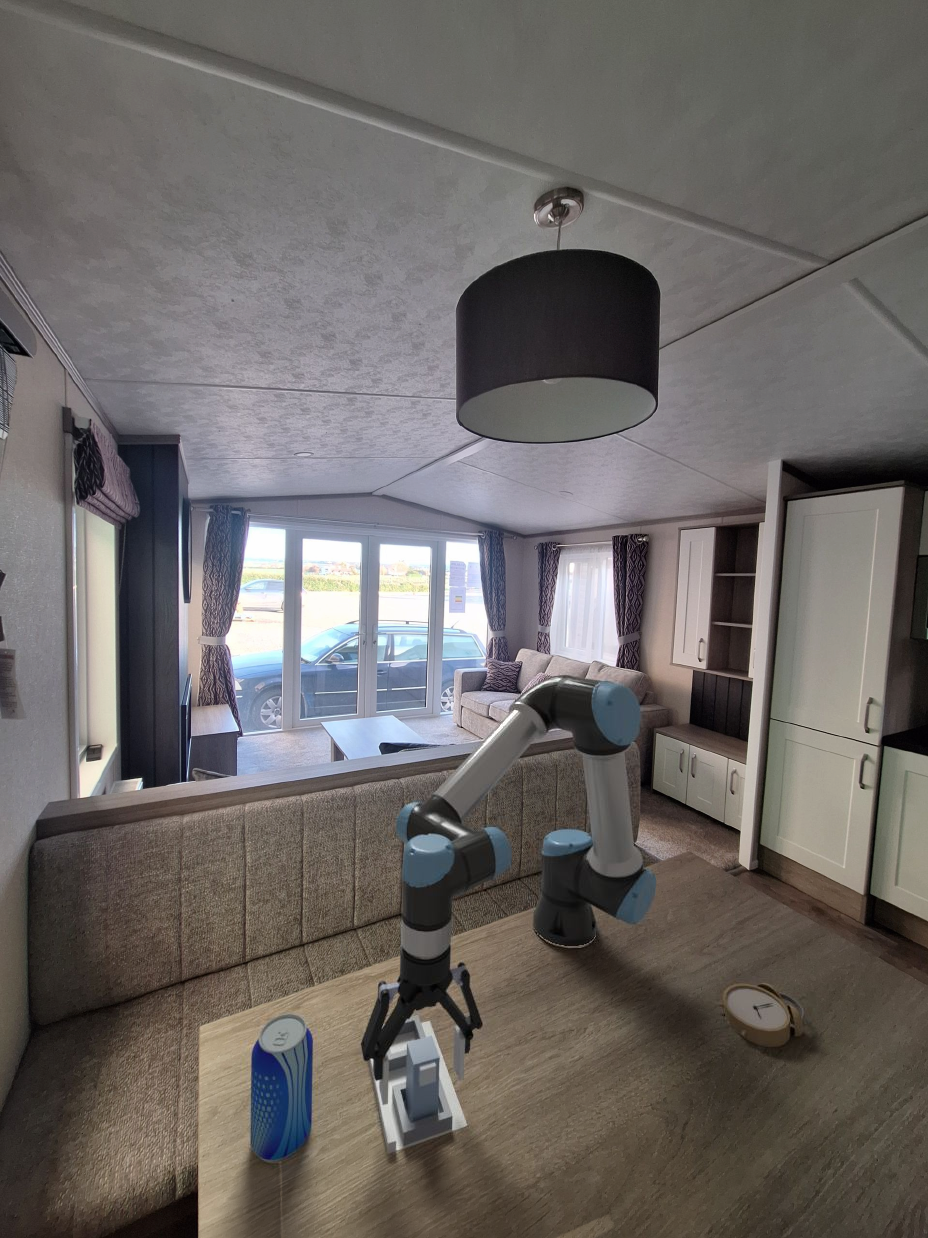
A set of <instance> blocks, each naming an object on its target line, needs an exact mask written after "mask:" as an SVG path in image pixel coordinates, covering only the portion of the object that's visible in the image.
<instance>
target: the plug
mask: <svg viewBox="0 0 928 1238" xmlns="http://www.w3.org/2000/svg"><path fill="white" fill-rule="evenodd" d="M439 1061H440V1057H439V1054H438V1051H437V1048H436V1046H435V1043H434V1040H433V1037H432V1036H428V1037H425V1038H421V1039H418V1040H414V1041H410V1042H407V1060H406V1101H405V1105H406V1109H407V1113H408V1117H409V1121H410V1123H412V1122H415V1121H418V1120H421V1119H424V1118H427V1117H430V1116H433V1115H436V1114H438V1097H439Z"/></svg>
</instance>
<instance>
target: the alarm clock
mask: <svg viewBox="0 0 928 1238" xmlns="http://www.w3.org/2000/svg"><path fill="white" fill-rule="evenodd" d="M783 1000H786V1001H788V1002H790V1003H791V1004H792V1005H794V1006H795V1007H794V1006H792V1005H791V1004H787V1006H786V1005H785V1003H784V1002H783ZM716 1006H717V1007H719V1008H723V1009H722V1011H723V1010H724V1013H723V1015H724V1014H725V1017H726V1019H727V1021H728V1022H729V1024H730V1025H731V1026H732V1027H733V1028H734V1029H735V1030H736V1031H737V1032H738V1033H739V1034H738V1033H737V1032H736V1031H735V1030H734V1029H733V1028H732V1027H731V1026H730V1025H729V1024H728V1025H729V1026H730V1027H731V1028H732V1029H733V1030H734V1031H735V1032H736V1033H737V1034H738V1035H739V1036H741V1035H742V1036H743V1038H744V1039H745V1038H746V1039H745V1040H747V1041H750V1042H751V1043H753V1044H756V1045H758V1046H762V1047H767V1048H774V1047H781V1046H783V1045H785V1044H786V1043H787V1042H788V1041H789V1039H790V1037H791V1028H790V1023H791V1024H793V1025H795V1030H794V1035H793V1037H795V1036H796V1037H800V1036H802V1034H803V1032H804V1027H805V1026H806V1027H807V1022H806V1021H804V1019H805V1014H804V1013H805V1010H804V1008H803V1006H802V1005H801V1004H800V1003H799V1001H797V1000H796V999H795V998H793V997H792V996H790V995H788V994H786V993H783V992H780V991H778V990H777V989H776V987H774V986H773V985H772V984H770V983H767V982H761V983H759V984H757V985H755V984H748V983H734V984H732V985H729V986H727V988H725V990H724V991H723V995H722V1002H716ZM799 1011H800V1012H799ZM725 1017H724V1018H725ZM726 1019H725V1020H726ZM727 1021H726V1022H727ZM728 1022H727V1023H728ZM742 1036H741V1037H742Z"/></svg>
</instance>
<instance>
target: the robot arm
mask: <svg viewBox="0 0 928 1238" xmlns="http://www.w3.org/2000/svg"><path fill="white" fill-rule="evenodd" d="M641 723H642V712H641V706H640V703H639V700H638V698H637V696H636V694H635V693H634V692H633V690H631V689H630V687H629V688H628V686H626V685H624V684H622V683H621V684H620V683H615V682H613V681H609V680H600V679H599V680H598V679H591V678H584V677H577V676H573V675H569V674H557V675H553V676H551V677H547V678H545V679H543V680H540V681H539V682H537V683H536V684H534V685H532V686H531V687H529V688H528V689H526V691H524V692H523V693H521V694H520V695H519V696H518V697H517V698H516V699H515V700H513V702H512V703H511V705H509V707H508V714H507V715H506V716H505V717H504V718H503V719H502V721H501V722H499V724H498V725H496V727H495V728H494V729H493V730H492V731H491V732H490V733H489V734H488V735H487V736H486V738H484V740H482V742H481V743H479V745H478V746H477V747H476V748H475V749H474V750H473V751H472V752H471V753H470V754H469V755H468V757H466V759H465V760H464V761H463V762H462V763H461V764H460V765H459V766H458V767H456V768H455V770H454V771H453V772H452V773H451V775H449V777H448V778H447V779H445V781H444V782H443V783H442V784H441V785H440V786H439V787H438V788H437V789H436V790H435V791H434V793H433V794H432V795H431V796H429V798H427V800H426V801H425V802H424V803H423V802H419V801H413V802H410V803H409V804H405V805H404V806H403V807H402V808H401V810H400V811H399V813H398V815H397V817H396V821H395V832H396V835H397V837H398V838H399V840H400V841H401V842H403V843H404V844H405V846H404V850H403V854H402V855H403V856H402V867H401V872H400V873H401V923H400V924H401V927H400V928H401V929H400V954H399V955H400V956H399V957H400V959H399V976H398V979H397V980H396V982H392V983H388V984H387V982H386V981H385V980H381V981H379V982H378V985H377V998H376V1001H375V1003H374V1006H373V1009H372V1012H371V1014H370V1017H369V1020H368V1023H367V1025H366V1029H365V1030H366V1031H365V1030H364V1034H363V1037H362V1039H361V1043H360V1046H361V1054H362V1059H363V1061H364V1062H369V1060H370V1059H373V1072H374V1077H375V1080H376V1081H377V1080H379V1089H380V1094H381V1099H382V1104H383V1105H385V1104H388V1081H389V1059H388V1054H387V1052H388V1050H389V1049H390V1047H391V1045H392V1044H393V1042H394V1040H395V1039H396V1037H397V1035H398V1033H399V1032H400V1030H401V1028H402V1027H403V1025H404V1023H405V1022H406V1020H407V1019H410V1017H411V1016H413V1014H414V1012H416V1011H421V1010H423V1009H424V1008H433V1007H437V1004H440V1006H441V1007H442V1008H443V1009H444V1010H445V1011H446V1012H447V1013H448V1015H449V1016H450V1017H451V1019H452V1020H453V1022H454V1023H455V1024H456V1025H454V1033H453V1035H454V1039H453V1040H454V1042H453V1068H454V1071H455V1074H456V1075H457V1079H458V1081H459V1082H461V1081H464V1080H465V1060H466V1059H465V1058H466V1057H465V1055H467V1054H469V1053H470V1052H471V1041H472V1039H474V1037H475V1036H474V1033H473V1031H474V1030H475V1029H476V1030H481V1028H483V1025H484V1024H483V1021H482V1018H481V1015H480V1012H479V1009H478V1006H477V1004H476V1000H475V997H474V994H473V992H472V991H473V990H472V989H471V987H470V986H471V975H470V972H469V970H468V968H467V966H466V964H465V962H463V961H461V962H459V963H458V964H457V967H455V968H451V953H452V952H451V950H452V949H451V948H452V947H451V946H452V945H451V942H452V916H453V913H452V912H453V900H454V899H455V898H456V897H458V896H460V895H462V894H464V893H466V892H467V891H470V890H472V889H474V888H476V887H479V886H480V885H482V884H485V883H487V882H489V881H493V880H494V879H496V877H498V876H500V875H501V874H503V873H505V872H506V871H507V870H508V869H509V868H510V865H511V862H512V846H511V844H510V841H509V840H508V837H507V836H506V834H505V833H504V832H503V831H502V830H500V829H499V828H497V827H495V826H489V827H488V826H486V827H481V828H480V829H478V830H474V829H472V828H471V827H468V826H466V825H465V824H463V822H465V820H466V819H467V818H468V816H469V815H471V813H472V812H473V811H474V810H475V809H476V807H477V806H478V805H480V803H481V802H482V801H483V800H484V798H485V797H486V796H487V795H488V794H489V793H490V792H491V790H492V789H493V788H494V787H495V786H496V785H497V783H498V782H499V781H500V780H501V779H502V778H503V776H504V775H506V773H507V772H508V771H509V770H510V768H511V767H512V766H513V765H514V764H515V763H516V762H517V761H518V760H519V758H520V757H521V756H522V755H523V753H524V752H525V751H526V750H527V749H528V748H529V746H531V745H532V743H533V742H534V741H535V740H536V739H538V740H539V739H543V738H544V737H545V736H546V735H547V733H548V732H549V731H552V730H557V729H559V730H563V731H566V732H570V733H571V735H572V742H573V748H574V749H575V750H576V751H577V752H578V753H579V754H581V755H582V764H583V772H584V773H583V774H584V779H585V781H584V782H585V789H586V797H587V806H588V807H587V808H588V813H589V821H590V830H591V835H590V833H588V832H585V831H583V830H579V829H573V828H572V829H570V828H566V829H559V830H555V831H551V832H550V833H547V835H546V836H545V837H544V839H543V844H542V851H541V858H542V860H541V890H540V895H539V898H538V901H537V903H536V907H535V910H534V911H533V915H532V927H533V926H534V928H535V930H536V931H537V933H538V934H539V935H541V936H542V937H543V938H544V939H546V940H548V941H550V942H552V943H555V944H559V945H564V946H579V945H584V944H587V943H589V942H590V941H592V940H593V939H594V937H595V935H596V936H597V920H596V917H595V913H594V910H593V907H595V908H597V909H599V910H600V911H602V912H604V913H606V914H607V915H610V916H611V917H612V918H615V919H616V920H619V921H621V922H624V923H625V924H629V925H637V924H639V923H640V922H641V921H642V920H644V917H646V915H647V913H648V912H649V910H650V909H651V906H652V903H653V900H654V898H655V895H656V890H657V877H656V875H655V873H654V872H652V871H651V870H650V869H646V868H644V862H643V856H642V853H641V851H640V850H639V849H638V848H637V846H635V845H634V844H635V843H634V835H633V824H632V815H631V814H632V813H631V803H630V802H631V801H630V793H629V784H628V783H629V782H628V775H627V774H628V773H627V765H626V754H625V753H626V752H627V751H628V750H629V749H630V748H631V746H632V744H633V742H634V741H636V738H637V737H638V734H639V733H640V731H641V730H640V728H641V727H640V724H641ZM534 928H533V929H534ZM450 968H451V969H450ZM453 981H455V984H456V985H458V986H459V988H460V990H461V993H462V996H463V1000H464V1002H465V1005H466V1008H467V1010H468V1013H469V1015H468V1016H467V1017H466V1016H465V1014H464V1013H463V1011H462V1010H461V1009H460V1007H459V1006H458V1005H457V1003H456V1002H455V1001H454V1000H453V998H452V996H450V994H449V993H448V992H447V990H448V989H449V987H450V986H451V985H452V982H453ZM397 994H398V998H397V1001H396V1005H395V1006H394V1008H393V1010H392V1011H391V1013H390V1015H389V1016H388V1018H387V1015H388V1012H389V1010H390V1009H389V1008H390V1004H391V1005H392V1003H394V1001H393V1000H394V997H395V996H396V995H397ZM386 1018H387V1020H386ZM383 1024H385V1025H384V1026H383ZM382 1027H383V1028H382Z"/></svg>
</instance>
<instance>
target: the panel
mask: <svg viewBox="0 0 928 1238" xmlns="http://www.w3.org/2000/svg"><path fill="white" fill-rule="evenodd" d="M384 1025H385V1023H384V1024H383V1026H384ZM382 1028H383V1027H382ZM365 1031H366V1029H364V1032H365ZM428 1036H432V1037H433V1040H434V1043H435V1046H436V1048H437V1051H438V1054H439V1057H440V1061H439V1097H438V1114H436V1115H433V1116H430V1117H427V1118H424V1119H421V1120H418V1121H415V1122H412V1123H410V1121H409V1117H408V1113H407V1109H406V1105H405V1101H406V1060H407V1042H410V1041H414V1040H418V1039H421V1038H425V1037H428ZM436 1037H437V1036H436V1034H435V1032H434V1029H433V1025H432V1023H431V1021H430V1020H427V1021H424V1022H422V1021H421V1019H420V1016H419V1014H416V1015H412V1016H411V1017H410V1019H407V1020H406V1022H405V1023H404V1025H403V1027H402V1028H401V1030H400V1032H399V1033H398V1035H397V1037H396V1039H395V1040H394V1042H393V1044H392V1045H391V1047H390V1049H389V1050H388V1052H387V1054H388V1059H389V1081H388V1104H385V1105H383V1104H382V1099H381V1094H380V1089H379V1080H377V1081H376V1080H375V1077H374V1072H373V1059H370V1060H369V1061H368V1062H369V1069H370V1073H371V1077H372V1081H373V1087H374V1093H375V1096H376V1102H377V1107H378V1112H379V1117H380V1122H381V1127H382V1132H383V1137H384V1138H383V1139H384V1143H385V1148H386V1152H387V1154H388V1155H389V1154H393V1153H395V1152H398V1151H400V1150H404V1149H406V1148H409V1147H412V1146H414V1145H417V1144H420V1143H423V1142H425V1141H428V1140H431V1139H434V1138H437V1137H440V1136H443V1135H446V1134H449V1133H452V1132H454V1131H457V1130H460V1129H463V1128H466V1127H468V1123H467V1121H466V1118H465V1115H464V1112H463V1109H462V1106H461V1104H460V1101H459V1099H458V1095H457V1093H456V1090H455V1088H454V1087H455V1086H454V1085H453V1082H452V1079H451V1076H450V1074H449V1071H448V1067H447V1066H446V1065H447V1064H446V1063H445V1062H446V1061H445V1059H444V1057H443V1054H442V1051H441V1049H440V1048H441V1047H440V1046H439V1042H438V1040H437V1038H436Z"/></svg>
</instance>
